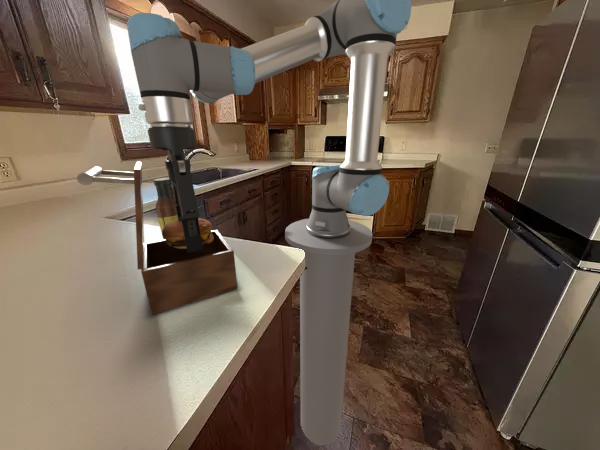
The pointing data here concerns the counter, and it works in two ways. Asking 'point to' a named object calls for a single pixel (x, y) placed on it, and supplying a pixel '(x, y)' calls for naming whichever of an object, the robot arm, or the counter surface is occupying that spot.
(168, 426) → the counter surface
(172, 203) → the sauce bottle
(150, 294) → the brown wooden box
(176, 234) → the burger
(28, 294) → the counter surface
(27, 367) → the counter surface
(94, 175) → the lid
